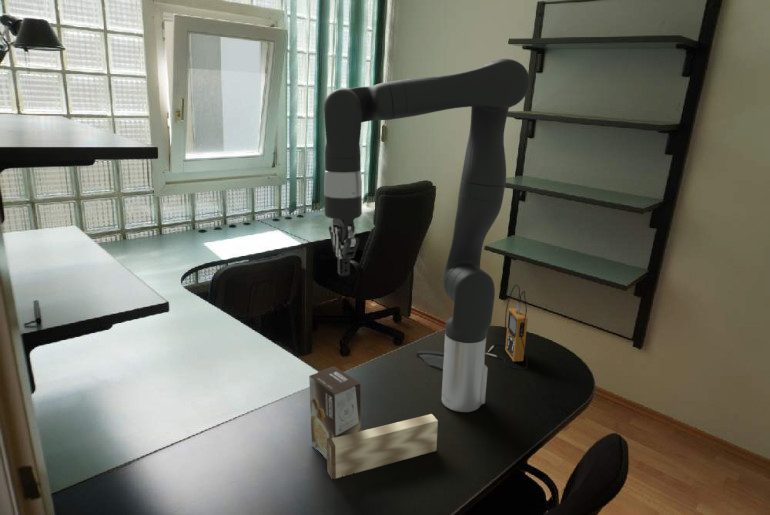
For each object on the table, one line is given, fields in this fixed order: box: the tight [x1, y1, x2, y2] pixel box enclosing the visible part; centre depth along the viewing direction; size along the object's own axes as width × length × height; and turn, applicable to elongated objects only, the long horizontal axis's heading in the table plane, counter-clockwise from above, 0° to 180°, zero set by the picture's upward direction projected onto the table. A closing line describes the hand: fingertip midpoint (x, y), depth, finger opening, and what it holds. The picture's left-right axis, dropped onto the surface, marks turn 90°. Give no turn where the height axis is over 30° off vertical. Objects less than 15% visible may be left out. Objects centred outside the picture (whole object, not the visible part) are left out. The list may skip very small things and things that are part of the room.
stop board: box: [326, 413, 439, 480], centre depth 100 cm, size 22×3×7 cm, turn 113°
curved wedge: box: [416, 349, 444, 372], centre depth 140 cm, size 8×14×2 cm, turn 47°
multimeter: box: [485, 284, 529, 370], centre depth 140 cm, size 15×10×20 cm
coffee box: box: [309, 366, 362, 460], centre depth 101 cm, size 9×6×16 cm
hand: (343, 274), depth 109 cm, fingers closed
